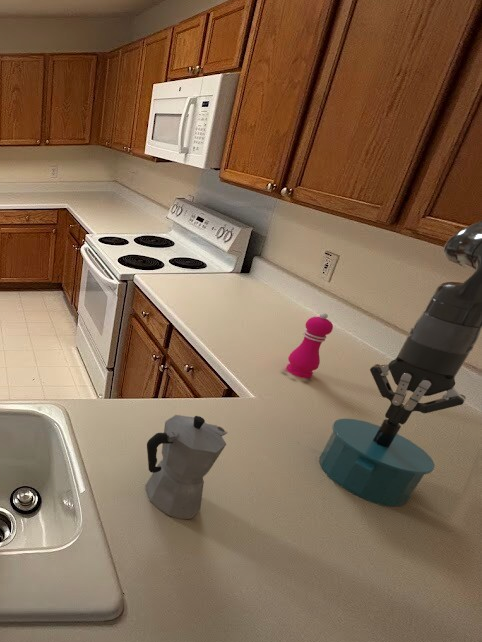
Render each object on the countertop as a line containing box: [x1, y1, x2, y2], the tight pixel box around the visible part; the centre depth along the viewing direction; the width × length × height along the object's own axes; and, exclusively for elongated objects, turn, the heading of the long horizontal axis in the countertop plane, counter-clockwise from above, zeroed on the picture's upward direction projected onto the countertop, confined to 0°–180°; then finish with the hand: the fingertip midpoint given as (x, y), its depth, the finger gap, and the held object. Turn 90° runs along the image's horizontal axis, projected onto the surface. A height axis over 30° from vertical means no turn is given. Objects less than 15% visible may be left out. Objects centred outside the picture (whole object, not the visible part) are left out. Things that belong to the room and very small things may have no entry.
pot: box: [319, 431, 425, 508], centre depth 82 cm, size 14×19×8 cm
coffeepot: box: [145, 414, 228, 520], centre depth 71 cm, size 15×9×18 cm, turn 105°
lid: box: [331, 418, 435, 476], centre depth 79 cm, size 15×15×6 cm
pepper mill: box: [285, 312, 334, 379], centre depth 118 cm, size 7×7×20 cm
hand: (393, 422), depth 78 cm, fingers closed
